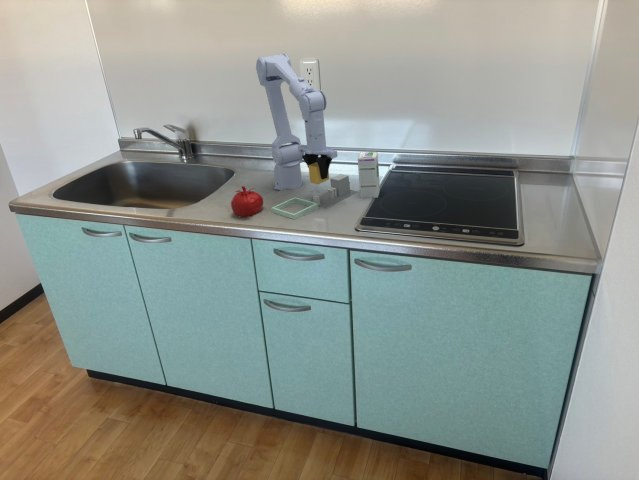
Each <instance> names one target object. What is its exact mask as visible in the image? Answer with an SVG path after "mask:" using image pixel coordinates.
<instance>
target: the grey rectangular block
mask: <svg viewBox="0 0 639 480" xmlns="http://www.w3.org/2000/svg"><path fill="white" fill-rule="evenodd" d="M349 178H350V177H349V175H347V174H343V173H342V174H341V173H340V174H338V175H336V176H333V177H331V178H329V182H330V188H331V187H332V188H336V190H337V196H339V197H340V196H342V195H344V194H346V193H348V192H350V190H351V188H350V189H349V182H350V181H349V180H350V179H349Z"/></svg>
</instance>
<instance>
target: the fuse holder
mask: <svg viewBox="0 0 639 480" xmlns="http://www.w3.org/2000/svg"><path fill="white" fill-rule="evenodd" d="M350 183H351V182H350V181H349V189H350V192H348V193H346V194H344V195H342V196H340V197H339V196H337V190H336V188H332V187H331V186H330V188H327V192H324V193H322V194H320V195H316V194H315V195H313V196H312V198H311V199H310V200H309V201H311V202H314V203H318V208H323V209H328V208H330V207H332V206H334V205H336V204H338V203H340V202H342V201H344V200H345V199H346V200H347V198H350V197H352V196H354V195H356V194H358V193H359V191H357V190H353V189H351V184H350Z"/></svg>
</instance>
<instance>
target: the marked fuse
mask: <svg viewBox="0 0 639 480" xmlns="http://www.w3.org/2000/svg"><path fill="white" fill-rule="evenodd" d="M308 166H309V168H308V174H309V182H310V183H311V184H315V185H320V184H323V183H325V182H327V181H330V171H329V170H330V169H329V170H328V176H327V178H325V179H321V176H320V169H319V166H318V163H317V162H315V163H313V164H311V165H308ZM308 166H307V167H308Z"/></svg>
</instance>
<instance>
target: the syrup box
mask: <svg viewBox="0 0 639 480" xmlns="http://www.w3.org/2000/svg"><path fill="white" fill-rule="evenodd" d="M357 169H358V181H359V182H358V184H359V196H360V199H365V198H366V199H374V198H375V199H376V198H379V197H380V192H381V186H380V185H381V184H380V169H379V153H378V151H364V152H360V153H359V155H358V157H357Z"/></svg>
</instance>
